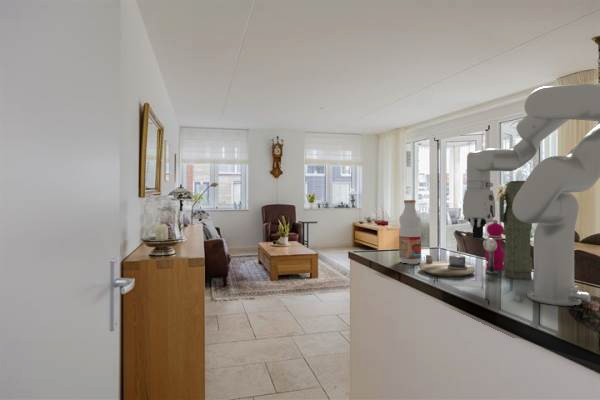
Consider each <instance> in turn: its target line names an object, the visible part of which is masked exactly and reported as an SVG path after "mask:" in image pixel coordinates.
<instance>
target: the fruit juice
mask: <svg viewBox="0 0 600 400" xmlns="http://www.w3.org/2000/svg"><path fill="white" fill-rule="evenodd" d="M416 203H417V202H416V200H415V199H404V200H403V205H404V209H403V212H402V213H401V215H400V216H399V220H398V222H399V225H400V226H399V230H398V240H399V241H398V260H399V263H400V262H402V263H401V264H403V263H409V264H408V265H419V264H418V263H420V264H421V263H422V230H421V226H420V225H421V222H422V221H421V220H422V219H421V216H420V214H419V213H418V212H417V210H416Z"/></svg>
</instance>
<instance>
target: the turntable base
mask: <svg viewBox="0 0 600 400" xmlns="http://www.w3.org/2000/svg"><path fill="white" fill-rule="evenodd" d="M424 272H425V273H426V274H429V275H433V276H438V277H447V278H460V277H461V278H462V277H467V276H469V275H470V274H465V275H446V274H436V273H430V272H426V271H424Z"/></svg>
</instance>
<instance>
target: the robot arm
mask: <svg viewBox="0 0 600 400" xmlns="http://www.w3.org/2000/svg"><path fill="white" fill-rule="evenodd" d="M524 112H525V113H526V115H525V116H524V117H523V118H522V119H521V120H519V121H518V122H517V125H516V131H517V134H518V135H519V137H520V138H521V140H520V141H519V142H518V143H516V144H515V145H514V146H513V147H511V148H485V149H482V150H476V151H470V152H468V154H467V156H466V190H465V191H464V196H463V200H462V201H463V203H462V215H463V220H464V221H466V222H469V224H470V226H471V228H472V238H473V239H482V238H483V235H484V227H485V226H486V225H487V223H488V224H490V223H493V220H494V218H495V217H496V202H495V196H494V191H493V190H491V187H494V183H493V182H491V172H512V171H516V170H519V168H522V167H523V166H524V165H525V164H527V163H529V162H530V161H531V160H532V159H533V158H535V156H536V154H537V153H538V150H539V148H540V147H541V146H540V145H541V142H543V140H545V139H546V138H548V137H549V136H550V135H551V134H552V133H554V132H555V131H556V130H557V129H559V128H560V127H561V126H563V125H564V124H565V123H567V122H568V121H569V120H575V121H591V122H599V123H598V125H597V126H596V127H594V128H593V129H592V130H590V131H589V132H588V133H586V134H585V135H584V136H583V137H582V138H581V140H580V141H579V143H577V145H576V146H575V148H574V149H573V150H572V152H570V153H569V154H568V155H555V156H550V157H546V158H544V159H542V160H541V161H540V162H539V163H538V164H536V165H535V167H533V169H532V170H531V172H530V173H529V175H528V177H527V178H526V179H525V180H524V181H525V182H524V184H523V185H522V187H521V188H520V190H519V191H518V192H517V194H516V196H515V198H514V200H513V204H512V210H513V214H514V215H515V217H516V218H517V219H518V220H520V221H522V222H525V223H533V224H537V225H536V228H535V230H534V235H533V290H529V291H528V292H527V297H528V299H530V300H532V301H534V302H537V303H542V304H547V305H554V306H559V307H562V306H563V307H573V306H574V305H576V306H580V305H581V304H582V301H583V302H586V303H590V302H591V300H592V296H591V294H590V293H588V292H583V291H580V290H579V287H580V286H579V285H575V234H576V233H575V232H576V224H577V220H578V215H579V210H580V209H579V208H580V207H579V202H578V199H577V197H576V196H575V195H574V194H572V193H581V192H585V191H589V189H591V188H592V187H593V186H594V185H595V184H596V182H597V181H598V180H599V179H600V84H596V83H576V84H574V83H573V84H564V85H563V84H561V85H548V86H542V87H539V88H536V89H535V90H534V91H532V92H531V93H530V94H529V95H528V96H527V97H526V100H525V102H524Z"/></svg>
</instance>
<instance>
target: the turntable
mask: <svg viewBox="0 0 600 400" xmlns="http://www.w3.org/2000/svg"><path fill="white" fill-rule="evenodd" d="M448 265H449V261H433V255H432V254H425V262H421V263H420V264H418V266H419V267H418V268H419V270H421V271H423V272H425V271H426V272H430V273H436V274H446V275H465V274H469V275H471V274H473V273H476V272H475V271H476V268H475V266H473V265H470V264H468V263H467V264H466V263H465V266H467V270H452V269H448ZM426 272H425V273H426Z"/></svg>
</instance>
